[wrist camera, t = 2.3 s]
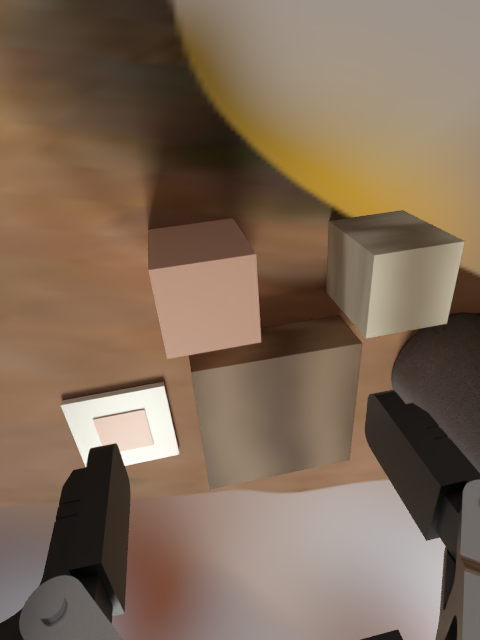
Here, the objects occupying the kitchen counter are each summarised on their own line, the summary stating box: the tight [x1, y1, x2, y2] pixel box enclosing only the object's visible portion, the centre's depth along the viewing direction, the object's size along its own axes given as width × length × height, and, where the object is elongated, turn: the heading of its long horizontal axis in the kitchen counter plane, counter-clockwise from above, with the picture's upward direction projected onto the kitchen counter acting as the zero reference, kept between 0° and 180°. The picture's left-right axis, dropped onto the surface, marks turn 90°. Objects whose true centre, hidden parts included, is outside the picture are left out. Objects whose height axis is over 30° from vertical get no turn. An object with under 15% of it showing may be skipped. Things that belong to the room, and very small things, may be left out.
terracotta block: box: [148, 218, 261, 359], centre depth 23 cm, size 5×5×6 cm
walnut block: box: [189, 316, 362, 489], centre depth 30 cm, size 11×11×4 cm
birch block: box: [326, 210, 465, 338], centre depth 24 cm, size 5×5×6 cm
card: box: [61, 382, 179, 466], centre depth 30 cm, size 7×7×1 cm
